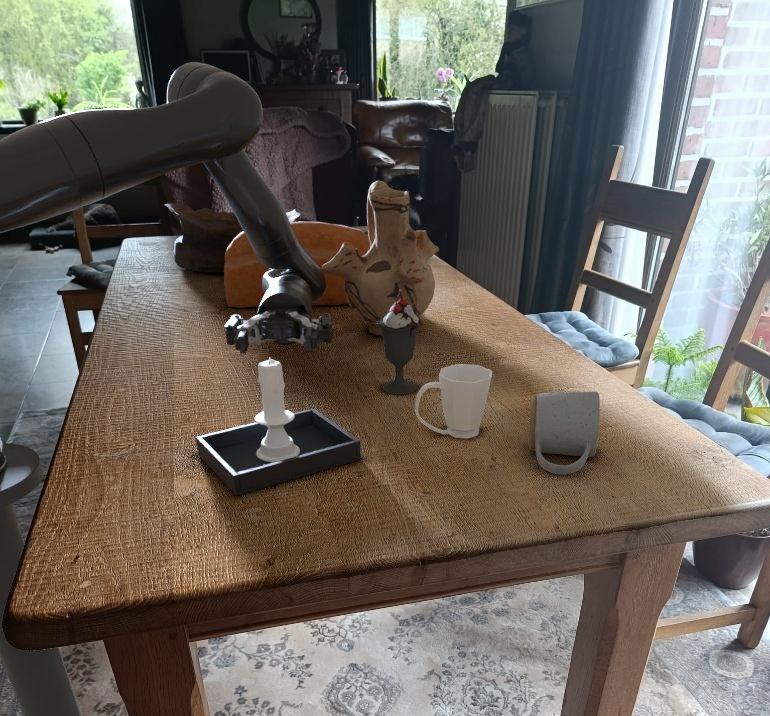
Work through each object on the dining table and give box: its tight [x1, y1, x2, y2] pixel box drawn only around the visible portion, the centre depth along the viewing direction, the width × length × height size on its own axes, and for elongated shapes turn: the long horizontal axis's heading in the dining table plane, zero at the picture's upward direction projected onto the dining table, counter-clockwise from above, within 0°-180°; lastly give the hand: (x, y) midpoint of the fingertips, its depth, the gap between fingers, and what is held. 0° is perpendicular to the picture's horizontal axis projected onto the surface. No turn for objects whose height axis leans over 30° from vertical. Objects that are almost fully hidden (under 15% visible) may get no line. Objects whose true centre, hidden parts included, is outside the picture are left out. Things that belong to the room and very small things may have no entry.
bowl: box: [163, 202, 301, 273], centre depth 179 cm, size 34×33×15 cm
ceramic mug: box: [527, 391, 601, 476], centre depth 84 cm, size 11×8×8 cm
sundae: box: [376, 290, 424, 395], centre depth 102 cm, size 7×7×15 cm
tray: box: [195, 408, 362, 497], centre depth 86 cm, size 16×12×2 cm
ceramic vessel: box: [322, 180, 440, 337], centre depth 126 cm, size 18×19×25 cm
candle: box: [254, 356, 300, 462], centre depth 84 cm, size 5×5×12 cm
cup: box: [414, 363, 493, 439], centre depth 90 cm, size 7×10×8 cm
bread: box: [223, 221, 371, 309], centre depth 148 cm, size 14×33×16 cm, turn 94°
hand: (275, 345), depth 91 cm, fingers open, 8 cm apart
